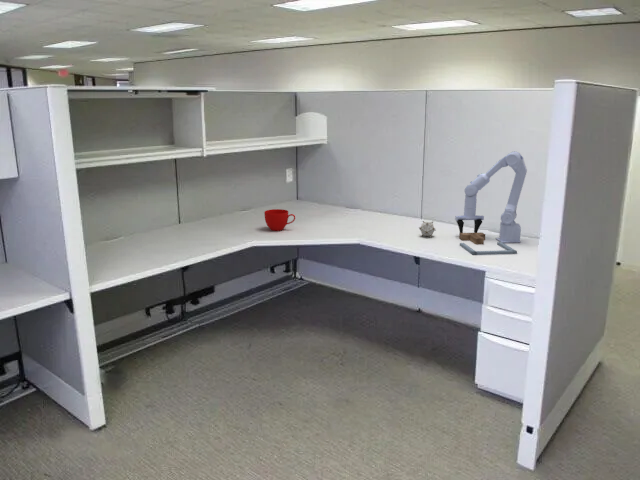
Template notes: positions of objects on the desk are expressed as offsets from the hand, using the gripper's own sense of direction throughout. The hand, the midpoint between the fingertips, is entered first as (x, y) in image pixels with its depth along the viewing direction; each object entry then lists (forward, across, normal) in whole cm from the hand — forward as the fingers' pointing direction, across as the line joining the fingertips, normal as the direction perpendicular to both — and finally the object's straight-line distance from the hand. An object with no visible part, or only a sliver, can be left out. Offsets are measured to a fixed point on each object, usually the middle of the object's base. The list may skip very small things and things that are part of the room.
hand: (468, 233), depth 280 cm
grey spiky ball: (+2, +21, -3) cm, 21 cm away
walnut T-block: (+2, 0, +9) cm, 10 cm away
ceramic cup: (+2, +96, -25) cm, 99 cm away
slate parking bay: (+2, 0, +25) cm, 25 cm away
